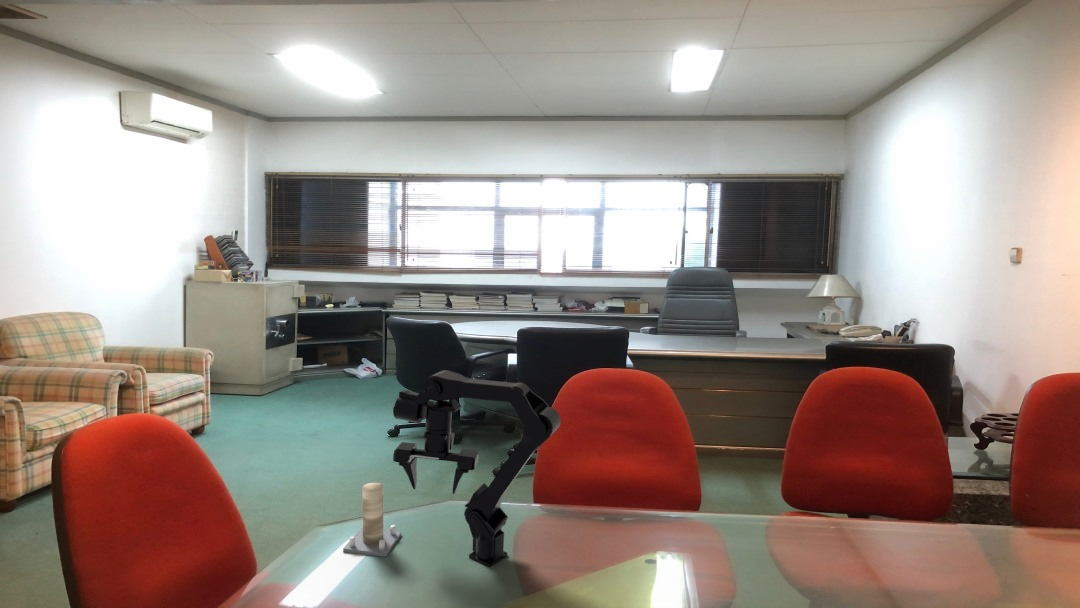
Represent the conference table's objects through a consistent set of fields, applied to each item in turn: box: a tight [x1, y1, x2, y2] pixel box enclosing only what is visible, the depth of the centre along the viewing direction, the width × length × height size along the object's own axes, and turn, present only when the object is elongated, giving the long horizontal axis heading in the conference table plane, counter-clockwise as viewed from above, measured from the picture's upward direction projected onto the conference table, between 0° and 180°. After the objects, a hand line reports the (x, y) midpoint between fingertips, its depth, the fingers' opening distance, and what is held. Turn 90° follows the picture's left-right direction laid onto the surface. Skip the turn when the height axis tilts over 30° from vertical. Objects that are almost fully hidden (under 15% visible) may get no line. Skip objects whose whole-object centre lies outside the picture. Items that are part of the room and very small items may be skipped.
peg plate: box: [342, 522, 402, 557], centre depth 146 cm, size 10×10×3 cm
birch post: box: [361, 482, 384, 545], centre depth 145 cm, size 5×5×13 cm
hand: (434, 490), depth 146 cm, fingers open, 9 cm apart
